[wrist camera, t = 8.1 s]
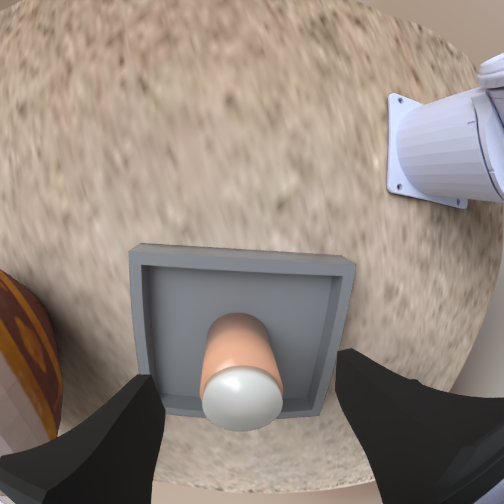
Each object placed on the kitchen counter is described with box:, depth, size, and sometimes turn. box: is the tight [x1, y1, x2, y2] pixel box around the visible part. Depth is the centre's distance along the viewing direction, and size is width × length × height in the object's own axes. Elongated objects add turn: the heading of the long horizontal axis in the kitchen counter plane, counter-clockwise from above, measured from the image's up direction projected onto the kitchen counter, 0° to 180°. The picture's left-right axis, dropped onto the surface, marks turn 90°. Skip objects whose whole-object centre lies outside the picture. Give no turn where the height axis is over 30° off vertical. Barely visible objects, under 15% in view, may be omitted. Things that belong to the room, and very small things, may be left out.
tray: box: [129, 243, 356, 419], centre depth 19 cm, size 14×13×2 cm
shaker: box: [200, 312, 283, 431], centre depth 15 cm, size 4×4×7 cm
